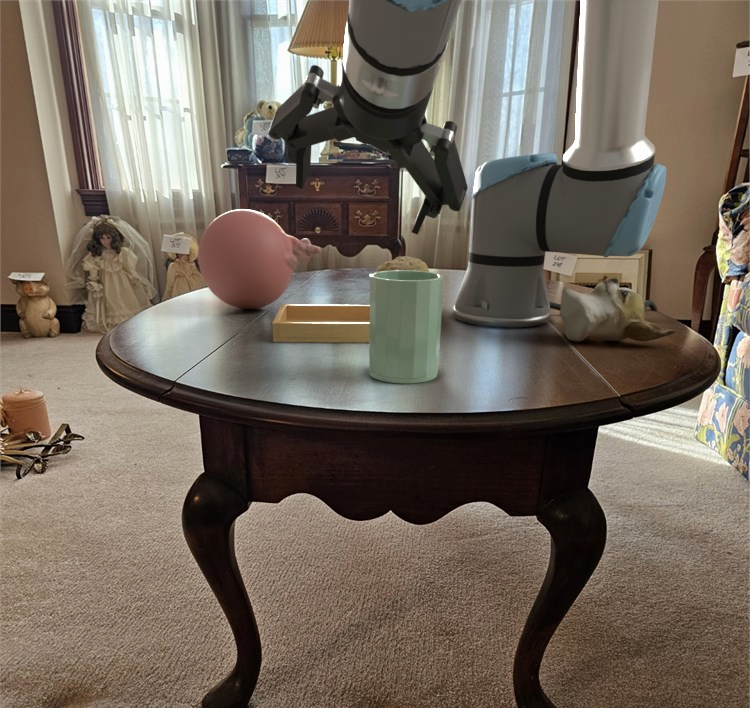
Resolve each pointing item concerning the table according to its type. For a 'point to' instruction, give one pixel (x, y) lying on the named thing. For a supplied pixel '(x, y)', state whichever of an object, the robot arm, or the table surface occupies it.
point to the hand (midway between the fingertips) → (361, 200)
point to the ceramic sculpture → (607, 314)
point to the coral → (403, 265)
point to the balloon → (249, 258)
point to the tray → (322, 323)
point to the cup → (405, 325)
